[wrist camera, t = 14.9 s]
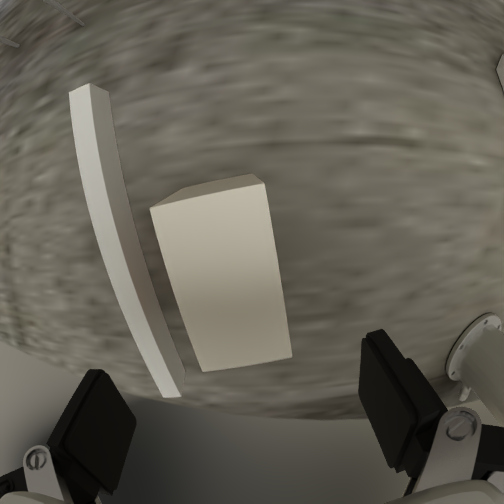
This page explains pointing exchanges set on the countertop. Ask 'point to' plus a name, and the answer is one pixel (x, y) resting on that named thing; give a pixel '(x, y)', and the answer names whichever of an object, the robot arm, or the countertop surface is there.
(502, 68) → the jar
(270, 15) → the countertop surface
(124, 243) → the rail
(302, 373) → the countertop surface
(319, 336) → the countertop surface
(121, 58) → the countertop surface
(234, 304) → the box
